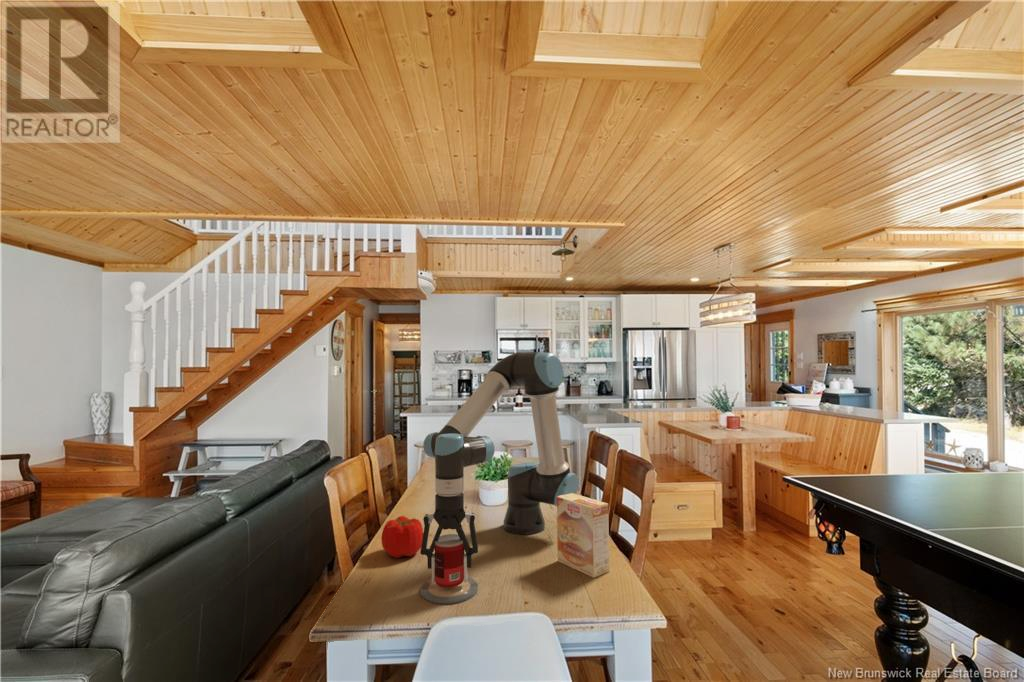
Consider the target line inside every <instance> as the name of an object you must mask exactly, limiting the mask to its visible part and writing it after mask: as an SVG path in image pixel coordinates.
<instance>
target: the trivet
mask: <svg viewBox="0 0 1024 682" xmlns="http://www.w3.org/2000/svg"><path fill="white" fill-rule="evenodd" d="M478 590H479V586H478V583H477V581H476V580H475V579H474V578H472V577H469V576H467V582H464V580H463V582H462V583H461V584H460V585H458V586H455V587H448V588H447V587H440V586H438V585H437V584H436V582H435V583H432V578H430V579H428V580H427V581H425V582H424V583H423V584H422V585H421V587H420V596H421V597H422V599H423V600H425V601H426V600H427V602H429V603H431V602H432V604H437V605H453V604H460V603H463V602H466V601H469V600H470V599H472V598H473V597H475V596H476V594H477V593H478ZM459 602H460V603H459Z"/></svg>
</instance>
